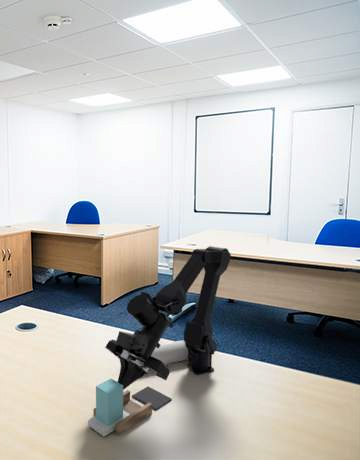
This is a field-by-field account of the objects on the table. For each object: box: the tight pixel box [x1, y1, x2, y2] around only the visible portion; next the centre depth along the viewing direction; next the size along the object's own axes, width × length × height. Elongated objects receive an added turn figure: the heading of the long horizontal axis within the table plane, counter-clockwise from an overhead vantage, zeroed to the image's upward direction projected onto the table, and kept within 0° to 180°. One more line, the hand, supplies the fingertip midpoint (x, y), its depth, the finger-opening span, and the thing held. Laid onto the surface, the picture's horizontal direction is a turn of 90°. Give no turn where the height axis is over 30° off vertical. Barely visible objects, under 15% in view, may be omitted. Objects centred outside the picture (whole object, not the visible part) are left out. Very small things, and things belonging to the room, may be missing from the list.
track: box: [92, 389, 153, 437], centre depth 86 cm, size 11×9×2 cm
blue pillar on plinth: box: [87, 378, 130, 437], centre depth 83 cm, size 8×6×9 cm
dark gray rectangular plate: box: [131, 386, 172, 411], centre depth 94 cm, size 6×9×1 cm, turn 50°
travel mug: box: [151, 339, 190, 365], centre depth 114 cm, size 6×7×20 cm
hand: (117, 391), depth 85 cm, fingers closed, pressing on blue pillar on plinth
